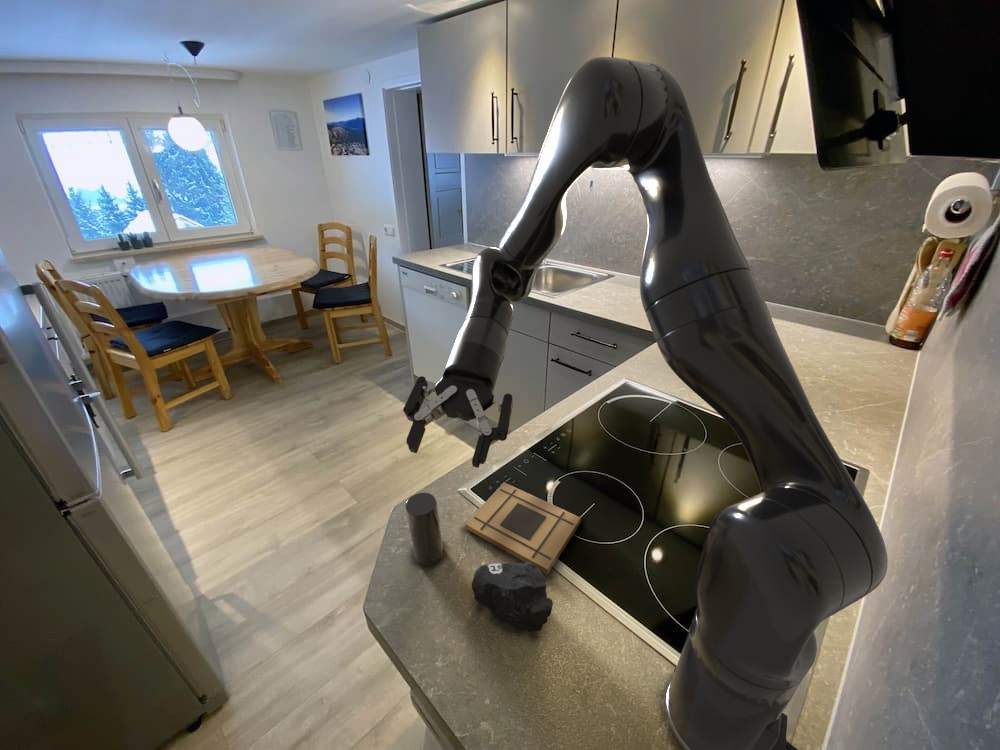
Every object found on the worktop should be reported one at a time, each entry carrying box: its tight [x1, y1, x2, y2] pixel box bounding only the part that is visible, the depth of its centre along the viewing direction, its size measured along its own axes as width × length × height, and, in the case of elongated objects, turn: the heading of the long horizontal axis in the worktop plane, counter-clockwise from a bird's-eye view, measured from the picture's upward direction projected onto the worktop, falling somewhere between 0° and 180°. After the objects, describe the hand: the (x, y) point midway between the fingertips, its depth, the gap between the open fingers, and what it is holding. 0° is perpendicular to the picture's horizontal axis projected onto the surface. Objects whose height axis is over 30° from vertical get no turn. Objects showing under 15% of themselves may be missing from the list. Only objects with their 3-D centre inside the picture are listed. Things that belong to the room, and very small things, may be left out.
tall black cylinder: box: [405, 492, 444, 566], centre depth 65 cm, size 5×5×11 cm
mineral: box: [471, 562, 554, 634], centre depth 58 cm, size 10×9×6 cm
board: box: [464, 482, 582, 575], centre depth 71 cm, size 16×12×1 cm
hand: (443, 458), depth 53 cm, fingers open, 8 cm apart
